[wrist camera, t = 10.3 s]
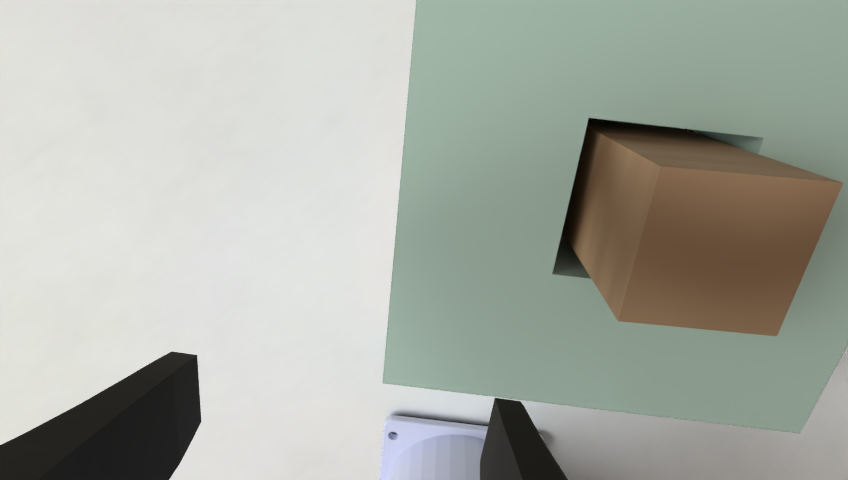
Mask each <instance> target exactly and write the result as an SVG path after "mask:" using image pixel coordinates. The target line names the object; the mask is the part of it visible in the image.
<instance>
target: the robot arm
mask: <svg viewBox="0 0 848 480" xmlns="http://www.w3.org/2000/svg"><path fill="white" fill-rule="evenodd" d="M200 423H201V412H200V396H199V380H198V364H197V355H192V354H185V353H178V352H170V353H168V354H167V355H165V356H163V357H161V358H159V359H157V360H156V361H154V362H152V363H150V364H149V365H147V366H145V367H143V368H142V369H140V370H138V371H137V372H135V373H133V374H132V375H130V376H128V377H126V378H125V379H123V380H121V381H120V382H118V383H116V384H114V385H113V386H111V387H109V388H107V389H106V390H104V391H102V392H100V393H99V394H97V395H95V396H93V397H92V398H90V399H88V400H86V401H85V402H83V403H81V404H79V405H77V406H76V407H74V408H72V409H70V410H68V411H66V412H64V413H62V414H60V415H59V416H57V417H55V418H53V419H51V420H49V421H47V422H45V423H43V424H42V425H40V426H38V427H36V428H34V429H32V430H30V431H28V432H26V433H25V434H22V435H20V436H18V437H16V438H14V439H12V440H10V441H8V442H6V443H4V444H2V445H0V480H169V479H170V477H171V476H172V474H173V473H174V471H175V470H176V468H177V467H178V465H179V463H180V462H181V460H182V458H183V456H184V454H185V452H186V451H187V449H188V447H189V445H190V443H191V441H192V439H193V437H194V435H195V433H196V431H197V429H198V427H199V425H200ZM390 432H396V433H397V434H392V433H390ZM379 480H568V479H567V478H566V476H565V475H564V473H563V472H562V470H561V469H560V467H559V465H558V464H557V462H556V461H555V459H554V458H553V456H552V454H551V453H550V451H549V449H548V448H547V446H546V444H545V443H544V439H543V437H542V435H541V434H539V432H538V431H537V429H536V427H535V425H534V424H533V422H532V420H531V418H530V417H529V415H528V413H527V411H526V409H525V407H524V406H523V404H522V403H521V402H520V401H513V400H506V399H499V398H495V400H494V405H493V409H492V413H491V417H490V421H489V425H488V426H480V425H472V424H463V423H455V422H447V421H438V420H430V419H422V418H414V417H405V416H397V415H392V416H389V417H388V418H386V420H385V424H384V433H383V443H382V454H381V465H380V475H379Z"/></svg>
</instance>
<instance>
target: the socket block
mask: <svg viewBox="0 0 848 480" xmlns="http://www.w3.org/2000/svg"><path fill="white" fill-rule="evenodd" d="M589 118H596V119H604V120H613V121H622V122H630V123H639V124H648V125H657V126H665V127H674V128H683V129H692V130H694V132H693V133H696V134H699V135H702V136H705V137H708V138H711V139H714V140H717V141H720V142H723V143H726V144H729V145H732V146H735V147H738V148H741V149H744V150H747V151H750V152H753V153H756V154H759V155H762V156H765V157H768V158H771V159H774V160H777V161H780V162H783V163H786V164H789V165H792V166H795V167H798V168H801V169H804V170H807V171H810V172H813V173H816V174H819V175H822V176H825V177H828V178H831V179H834V180H837V181H840V182H843V185H842V187H841V190H840V192H839V194H838V196H837V199H836V201H835V203H834V206H833V208H832V210H831V213H830V215H829V217H828V220H827V222H826V224H825V227H824V229H823V231H822V233H821V236H820V238H819V240H818V243H817V245H816V247H815V250H814V252H813V254H812V257H811V259H810V261H809V264H808V266H807V268H806V270H805V273H804V275H803V277H802V280H801V282H800V284H799V287H798V289H797V291H796V294H795V296H794V298H793V301H792V303H791V305H790V307H789V310H788V312H787V314H786V317H785V319H784V321H783V324H782V326H781V328H780V331H779V333H778V335H777V336H768V335H757V334H747V333H736V332H726V331H715V330H705V329H694V328H684V327H673V326H663V325H652V324H642V323H631V322H621V321H618V320H617V319H616V317H615V316H614V314H613V312H612V311H611V309H610V308H609V306H608V304H607V303H606V301H605V300H604V298H603V296H602V295H601V293H600V292H599V290H598V288H597V287H596V285H595V284H594V282H593V280H592V279H591V277H590V276H589V274H588V272H587V271H586V269H585V268H584V266H583V264H582V263H581V261H580V259H579V258H578V256H577V255H576V253H575V251H574V250H573V248H572V247H571V245H570V243H569V242H568V240H567V239H566V237H565V235H561V234H562V230H563V226H564V222H565V217H566V213H567V209H568V204H569V200H570V196H571V192H572V187H573V183H574V179H575V175H576V170H577V166H578V162H579V157H580V153H581V149H582V145H583V140H584V136H585V132H586V128H587V123H588V119H589ZM847 345H848V0H416V10H415V21H414V33H413V44H412V55H411V67H410V78H409V89H408V101H407V112H406V123H405V135H404V146H403V157H402V169H401V180H400V191H399V203H398V214H397V225H396V237H395V248H394V260H393V271H392V282H391V294H390V305H389V316H388V328H387V339H386V350H385V362H384V373H383V383H384V384H393V385H401V386H409V387H418V388H426V389H434V390H443V391H451V392H459V393H468V394H476V395H484V396H493V397H501V398H509V399H518V400H526V401H534V402H543V403H551V404H559V405H568V406H576V407H584V408H593V409H601V410H609V411H618V412H626V413H634V414H643V415H651V416H659V417H668V418H676V419H684V420H693V421H701V422H709V423H718V424H726V425H734V426H743V427H751V428H759V429H768V430H776V431H784V432H793V433H800V432H801V430H802V428H803V427H804V425H805V423H806V421H807V419H808V417H809V415H810V414H811V412H812V410H813V408H814V406H815V404H816V402H817V401H818V399H819V397H820V395H821V393H822V391H823V389H824V388H825V386H826V384H827V382H828V380H829V378H830V376H831V375H832V373H833V371H834V369H835V367H836V365H837V363H838V362H839V360H840V358H841V356H842V354H843V352H844V350H845V349H846V347H847Z"/></svg>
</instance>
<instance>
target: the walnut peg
mask: <svg viewBox="0 0 848 480" xmlns="http://www.w3.org/2000/svg"><path fill="white" fill-rule="evenodd" d="M842 185H843V182H840V181H837V180H834V179H831V178H828V177H825V176H822V175H819V174H816V173H813V172H810V171H807V170H804V169H801V168H798V167H795V166H792V165H789V164H786V163H783V162H780V161H777V160H774V159H771V158H768V157H765V156H762V155H759V154H756V153H753V152H750V151H747V150H744V149H741V148H738V147H735V146H732V145H729V144H726V143H723V142H720V141H717V140H714V139H711V138H708V137H705V136H702V135H699V134H696V133H693V132H690V131H687V130H684V129H681V128H674V127H665V126H653V125H642V124H631V123H619V122H608V121H596V120H588V123H587V128H586V132H585V136H584V140H583V145H582V149H581V153H580V157H579V162H578V166H577V170H576V175H575V179H574V183H573V187H572V192H571V196H570V200H569V204H568V209H567V213H566V217H565V222H564V226H563V230H562V232H563V234H564V235H565V237H566V239H567V240H568V242H569V243H570V245H571V247H572V248H573V250H574V251H575V253H576V255H577V256H578V258H579V259H580V261H581V263H582V264H583V266H584V268H585V269H586V271H587V272H588V274H589V276H590V277H591V279H592V280H593V282H594V284H595V285H596V287H597V288H598V290H599V292H600V293H601V295H602V296H603V298H604V300H605V301H606V303H607V304H608V306H609V308H610V309H611V311H612V312H613V314H614V316H615V317H616V319H617V320H618V321H621V322H631V323H642V324H652V325H663V326H673V327H684V328H694V329H705V330H715V331H726V332H736V333H747V334H757V335H768V336H777V335H778V333H779V331H780V328H781V326H782V324H783V321H784V319H785V317H786V314H787V312H788V310H789V307H790V305H791V303H792V301H793V298H794V296H795V294H796V291H797V289H798V287H799V284H800V282H801V280H802V277H803V275H804V273H805V270H806V268H807V266H808V264H809V261H810V259H811V257H812V254H813V252H814V250H815V247H816V245H817V243H818V240H819V238H820V236H821V233H822V231H823V229H824V227H825V224H826V222H827V220H828V217H829V215H830V213H831V210H832V208H833V206H834V203H835V201H836V199H837V196H838V194H839V192H840V190H841V187H842Z"/></svg>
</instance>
